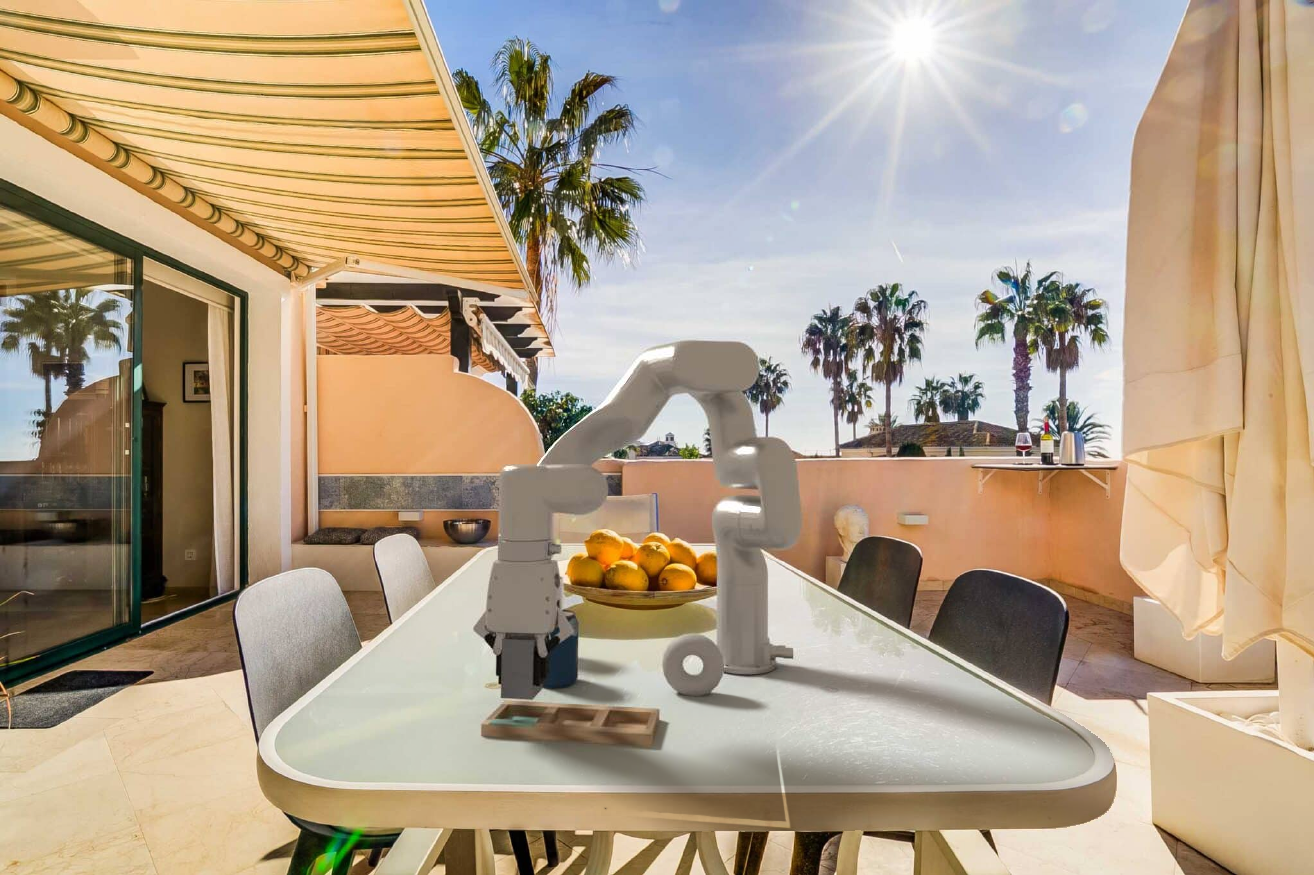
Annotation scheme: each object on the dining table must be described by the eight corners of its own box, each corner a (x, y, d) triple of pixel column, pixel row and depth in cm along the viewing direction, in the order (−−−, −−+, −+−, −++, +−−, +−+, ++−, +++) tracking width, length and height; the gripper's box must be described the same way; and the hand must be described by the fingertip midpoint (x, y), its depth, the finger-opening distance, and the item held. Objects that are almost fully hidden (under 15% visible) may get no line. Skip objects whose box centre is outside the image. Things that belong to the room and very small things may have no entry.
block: (542, 688, 92) (543, 632, 92) (532, 699, 87) (533, 640, 88) (512, 687, 92) (513, 630, 93) (500, 697, 88) (502, 639, 88)
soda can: (586, 685, 108) (587, 612, 108) (553, 695, 102) (554, 619, 103) (560, 675, 112) (561, 606, 113) (527, 685, 107) (528, 612, 108)
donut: (660, 698, 102) (661, 634, 102) (663, 691, 105) (663, 629, 105) (723, 702, 100) (723, 637, 101) (724, 694, 104) (724, 632, 104)
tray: (659, 722, 92) (659, 707, 92) (650, 750, 83) (651, 732, 83) (505, 713, 95) (505, 698, 95) (480, 739, 86) (481, 722, 86)
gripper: (589, 549, 94) (587, 676, 93) (478, 547, 96) (475, 671, 95) (576, 556, 86) (574, 694, 85) (456, 553, 88) (453, 688, 87)
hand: (522, 680), depth 90 cm, fingers closed on block, 4 cm apart
